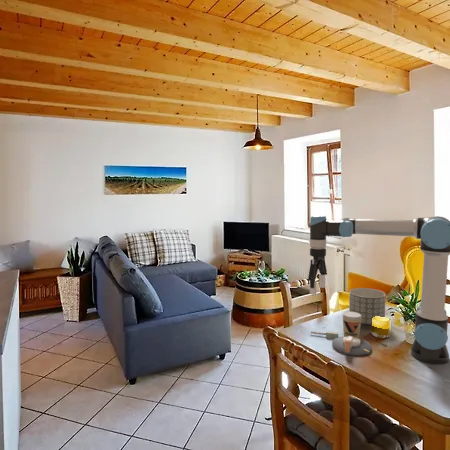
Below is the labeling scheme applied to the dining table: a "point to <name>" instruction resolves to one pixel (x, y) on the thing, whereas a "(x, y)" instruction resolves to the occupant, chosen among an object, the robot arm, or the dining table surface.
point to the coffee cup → (351, 324)
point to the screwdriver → (328, 334)
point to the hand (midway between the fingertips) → (317, 290)
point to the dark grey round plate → (354, 351)
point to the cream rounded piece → (350, 343)
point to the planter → (367, 304)
